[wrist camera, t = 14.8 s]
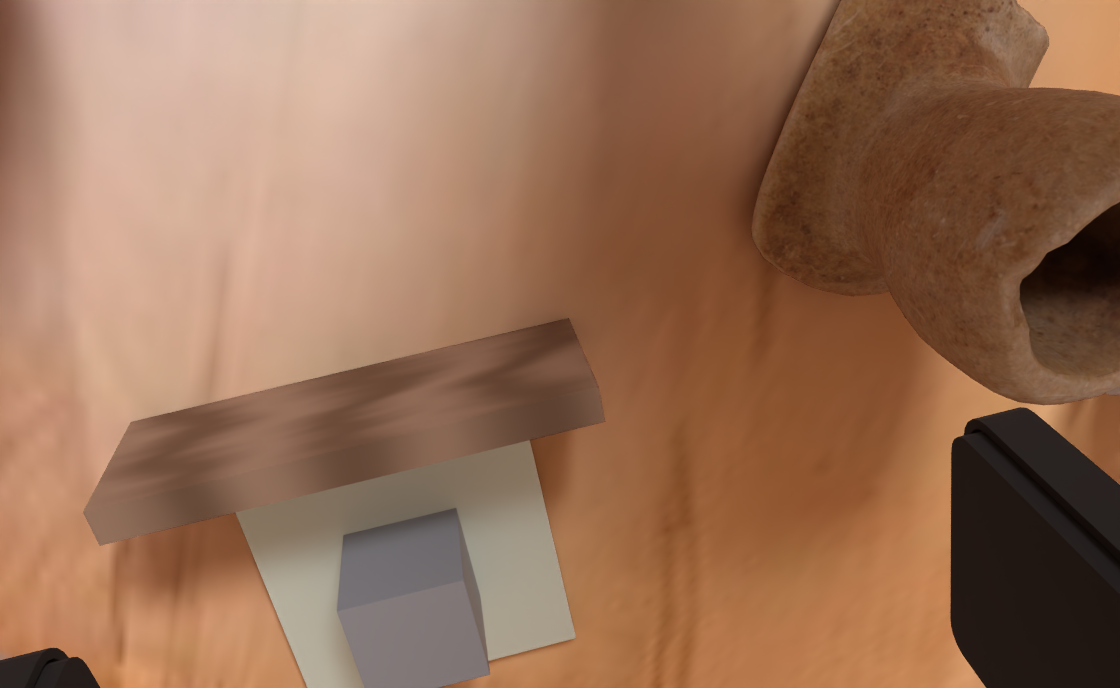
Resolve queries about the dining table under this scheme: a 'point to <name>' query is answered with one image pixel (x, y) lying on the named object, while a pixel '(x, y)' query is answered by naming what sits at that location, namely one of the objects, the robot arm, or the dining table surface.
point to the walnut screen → (344, 430)
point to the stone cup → (956, 192)
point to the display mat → (463, 483)
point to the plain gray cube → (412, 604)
